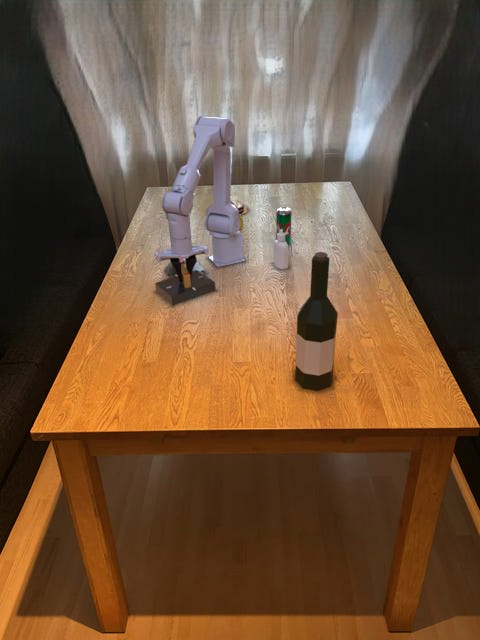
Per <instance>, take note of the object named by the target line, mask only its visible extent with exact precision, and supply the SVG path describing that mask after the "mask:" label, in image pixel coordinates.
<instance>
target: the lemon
mask: <svg viewBox="0 0 480 640" xmlns="http://www.w3.org/2000/svg"><path fill="white" fill-rule="evenodd" d="M242 216H243V215H240V214H239V219H240V229H239V232H240V233H241V231H243V228H244V218H243V217H242Z"/></svg>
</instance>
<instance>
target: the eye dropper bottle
mask: <svg viewBox="0 0 480 640" xmlns="http://www.w3.org/2000/svg"><path fill="white" fill-rule="evenodd" d="M273 265H274V267H276V268H277V269H279V270H286V269H288V268H289V245H288V244H287V242H286V241H285V233H283V230H282V229H281V230H280V233H278V234H277V240H276V239H275V240H274V242H273Z"/></svg>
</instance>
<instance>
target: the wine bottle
mask: <svg viewBox="0 0 480 640" xmlns="http://www.w3.org/2000/svg"><path fill="white" fill-rule="evenodd" d="M330 259H331V258H330V257H329V256H328V253H326V252H324V251H318V252H315V253H314V256H313V257H312V258H311V270H310V271H311V273H310V294H309V296H308V298H307V299H306V301H304V303H303V305H301V307H300V309H299V310H298V313H297V316H296V343H295V344H296V345H295V374H294V375H295V377H294V381H295V382H296V383H297V384H298V385H299V386H300V387H301V388H302V389H304V390H309V391H310V390H311V391H316V392H320V391H322V390H324V389H327V388H330V387H331V384H332V381H333V377H334V363H335V351H336V339H337V327H338V314H339V312H338V311H337V310H336V308H335V306H334V305H333V304H332V301H331V300H330V298H329V296H328V287H329V272H330Z"/></svg>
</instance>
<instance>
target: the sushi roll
mask: <svg viewBox="0 0 480 640" xmlns="http://www.w3.org/2000/svg"><path fill="white" fill-rule="evenodd" d="M213 204H214V202H213V203H212V205H213ZM231 204H232V205H233V206H234V207H235V208H237V209H238V210H239V214H240V215H241V216H243V215H245V214H247V212H248V207H247V206H246V205H244V203H243V202H242V201H240V200H239V199H237V200H234V199H231Z"/></svg>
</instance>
